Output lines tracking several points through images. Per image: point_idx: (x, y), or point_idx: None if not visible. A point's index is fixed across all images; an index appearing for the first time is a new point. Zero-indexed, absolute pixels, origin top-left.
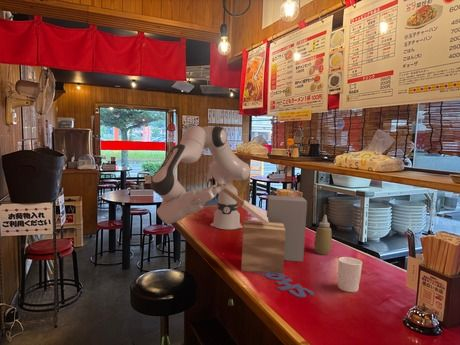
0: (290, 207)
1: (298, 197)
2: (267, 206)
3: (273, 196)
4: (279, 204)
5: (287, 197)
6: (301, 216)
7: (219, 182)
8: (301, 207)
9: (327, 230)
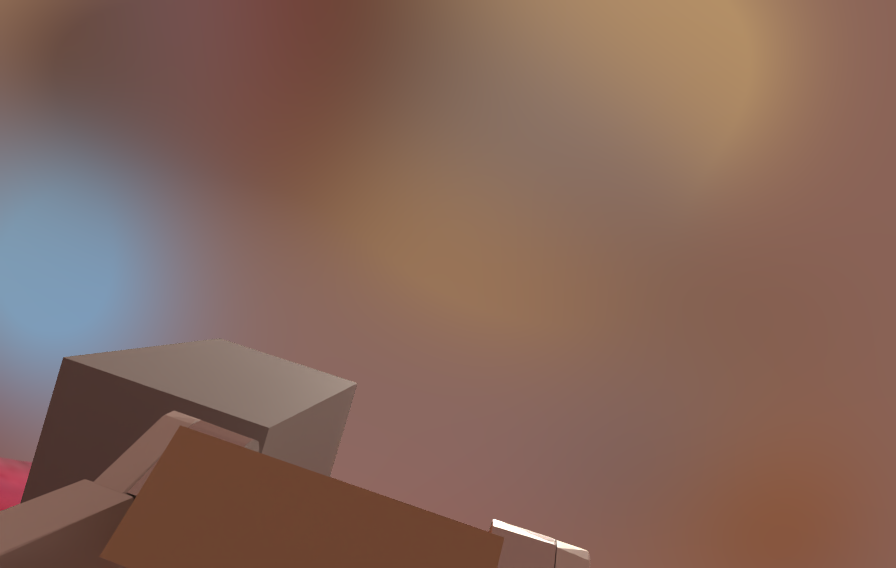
0: (315, 440)
1: (223, 346)
2: (65, 457)
3: (145, 370)
4: (292, 443)
5: (210, 361)
6: (325, 470)
7: (292, 472)
8: (338, 421)
9: None
